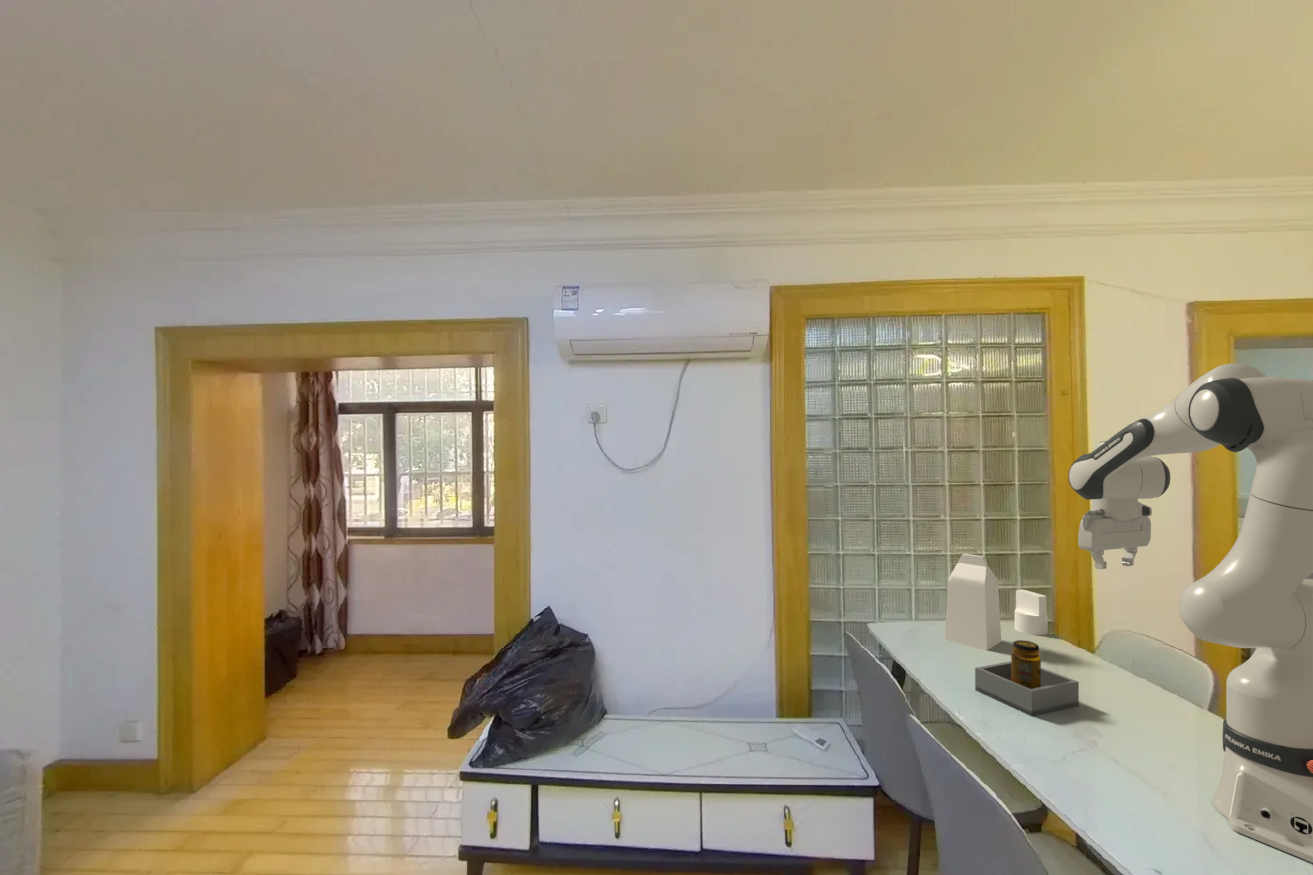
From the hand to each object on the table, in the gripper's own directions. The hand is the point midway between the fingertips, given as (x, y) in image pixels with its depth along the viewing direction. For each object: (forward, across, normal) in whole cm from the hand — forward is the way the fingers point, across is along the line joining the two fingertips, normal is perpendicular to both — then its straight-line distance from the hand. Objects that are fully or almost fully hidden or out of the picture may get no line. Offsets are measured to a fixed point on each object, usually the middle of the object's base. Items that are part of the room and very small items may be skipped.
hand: (1114, 567), depth 146 cm
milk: (+31, +3, +43) cm, 53 cm away
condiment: (+30, -20, +8) cm, 37 cm away
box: (+31, -19, +8) cm, 37 cm away
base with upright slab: (+31, +28, +44) cm, 61 cm away
